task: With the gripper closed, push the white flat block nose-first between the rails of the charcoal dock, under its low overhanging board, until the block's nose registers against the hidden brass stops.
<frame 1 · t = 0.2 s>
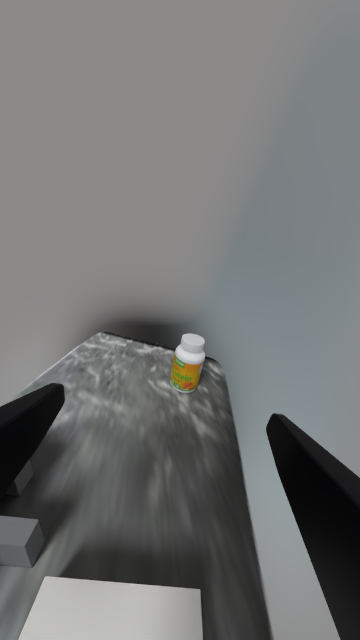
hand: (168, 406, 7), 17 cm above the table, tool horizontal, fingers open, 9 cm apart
supplement bottle: (183, 384, 33), on the table
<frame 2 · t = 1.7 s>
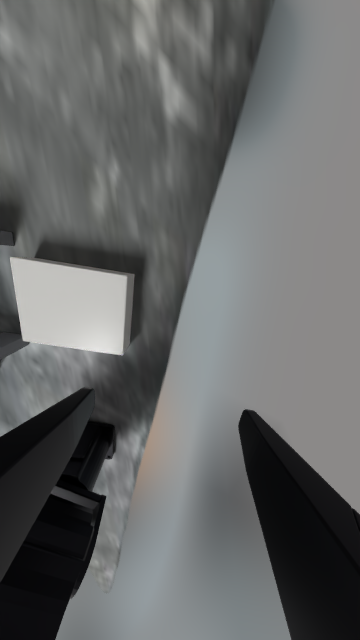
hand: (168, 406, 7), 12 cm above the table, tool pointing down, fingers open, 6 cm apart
white flat block: (85, 304, 18), on the table
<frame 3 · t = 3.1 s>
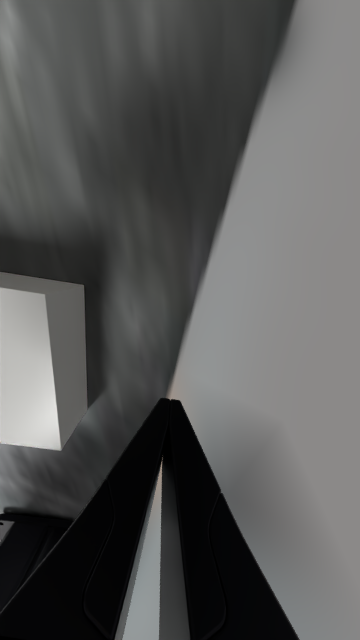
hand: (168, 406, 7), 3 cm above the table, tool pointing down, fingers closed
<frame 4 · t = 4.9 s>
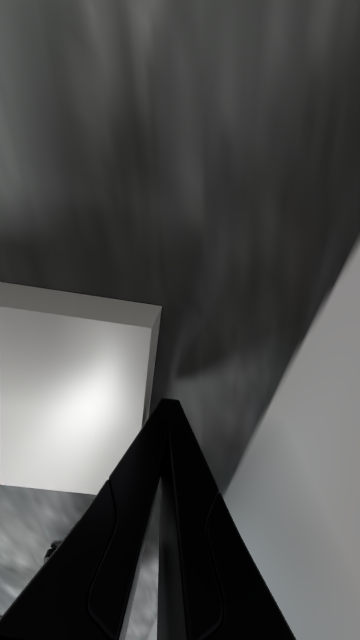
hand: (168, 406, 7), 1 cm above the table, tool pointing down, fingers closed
white flat block: (49, 370, 8), on the table, touching gripper
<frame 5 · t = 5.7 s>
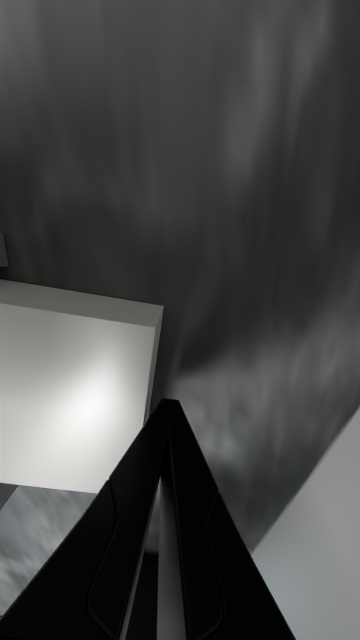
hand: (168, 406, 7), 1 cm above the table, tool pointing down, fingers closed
white flat block: (50, 368, 8), on the table, touching gripper
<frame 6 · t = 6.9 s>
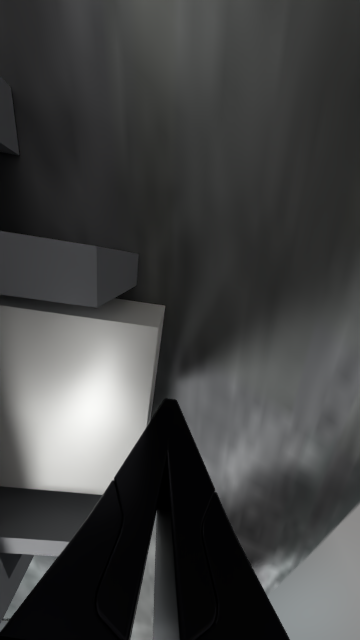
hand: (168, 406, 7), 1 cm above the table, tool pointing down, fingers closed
white flat block: (51, 370, 8), on the table, touching dock, gripper
dock: (25, 370, 8), on the table
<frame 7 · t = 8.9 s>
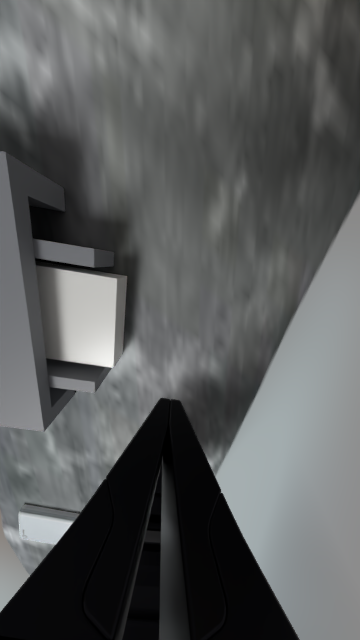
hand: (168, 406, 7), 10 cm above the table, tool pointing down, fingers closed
hard drive: (65, 518, 29), on the table
white flat block: (72, 309, 16), on the table
dock: (59, 309, 16), on the table
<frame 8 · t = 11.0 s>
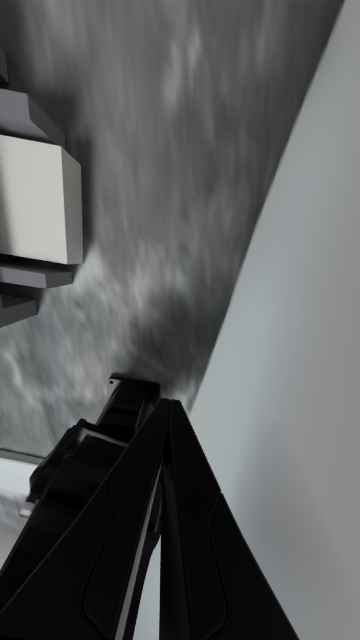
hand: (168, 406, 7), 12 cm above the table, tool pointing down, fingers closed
hard drive: (40, 468, 28), on the table
white flat block: (26, 208, 15), on the table
dock: (13, 208, 15), on the table
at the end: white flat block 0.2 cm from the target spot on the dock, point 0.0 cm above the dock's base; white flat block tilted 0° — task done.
